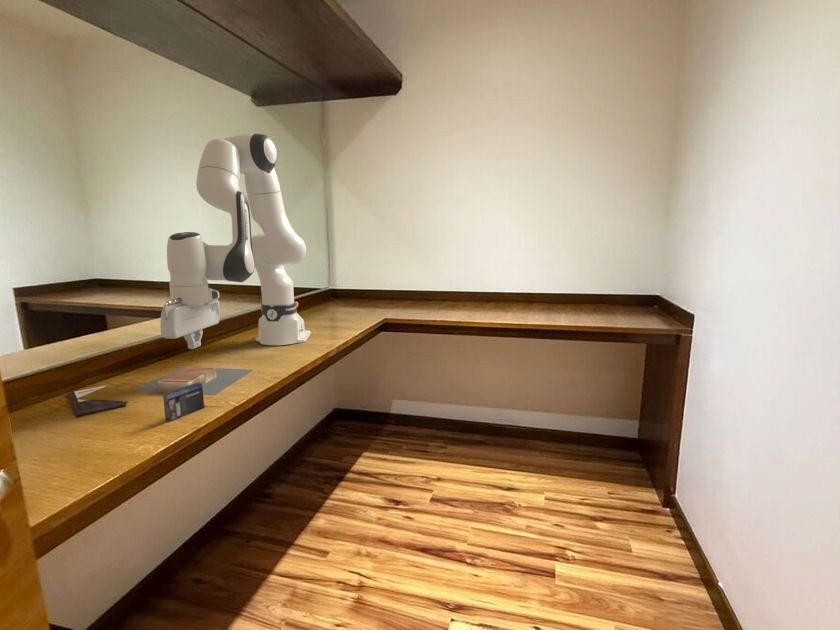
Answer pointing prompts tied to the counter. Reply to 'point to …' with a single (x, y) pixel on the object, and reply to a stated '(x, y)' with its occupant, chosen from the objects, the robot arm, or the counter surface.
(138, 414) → the counter surface
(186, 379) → the wooden block
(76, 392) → the chocolate bar
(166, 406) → the mini dv tape
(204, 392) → the mat
